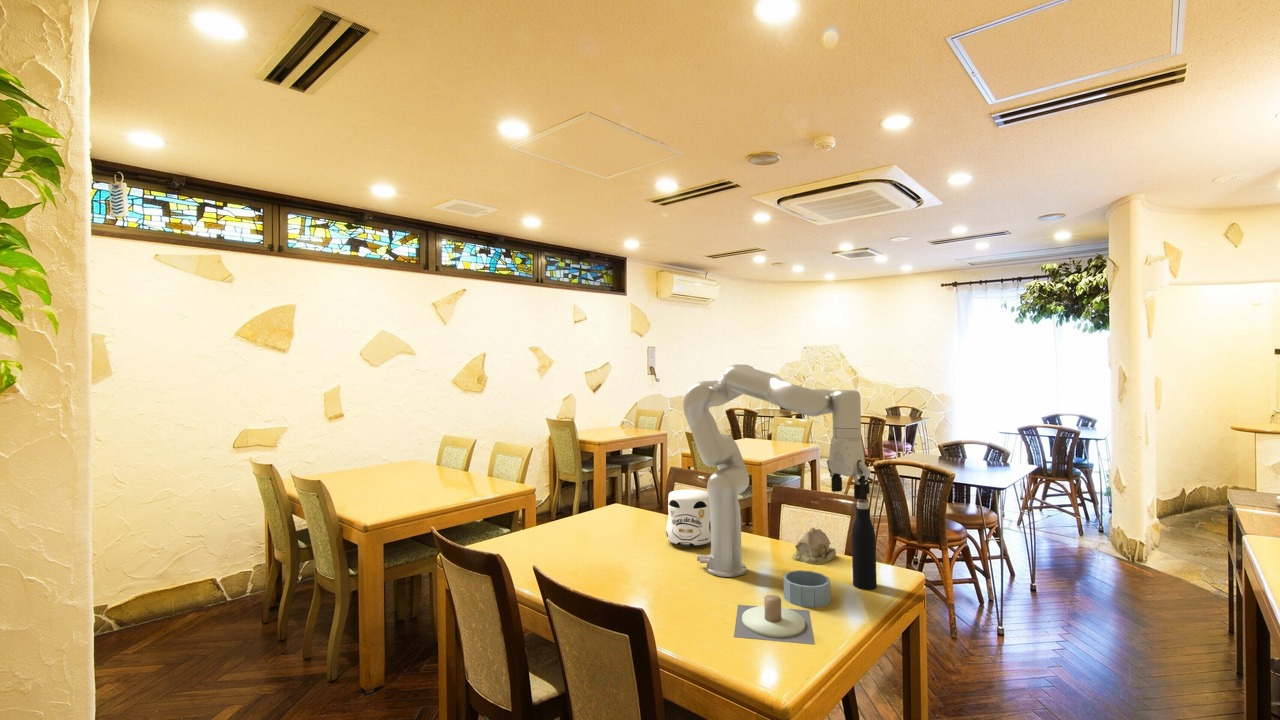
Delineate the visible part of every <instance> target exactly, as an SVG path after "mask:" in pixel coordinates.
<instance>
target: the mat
mask: <svg viewBox="0 0 1280 720" xmlns="http://www.w3.org/2000/svg"><path fill="white" fill-rule="evenodd" d="M758 606H759V605H744V604H737V610H736V617H735V626H734V632H733V638H740V639H751V640H760V641H762V640H763V641H772V642H782V643H783V642H784V643H792V644H793V643H794V644H805V645H815V644H816V643H815V638H814V633H813V625H812V620H811V615H810V610H808V609H800V608H799V609H797V608H795V609H794V608H789V609H790V610H792V611H795V612H797V613H798V614H800V615H801V616H802V617H803V618H804V620H805V629H804V631H803V632H802V633H800V634H798V635H796V636H792V637H785V638H775V637H767V636H763V635H759V634H756V633H754V632H752V631H750V630H748V629H747V628H746V627H745V626H744V625H743V623H742V615H743V613H744V612H745V611H746V610H748V609H750V608H753V607H758Z"/></svg>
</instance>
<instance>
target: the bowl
mask: <svg viewBox="0 0 1280 720" xmlns="http://www.w3.org/2000/svg"><path fill="white" fill-rule="evenodd" d="M783 599H784V600H785V601H787V602H788V603H789V604H792V605H794V606H799V607H801V608H812V609H814V608H816V609H817V608H822V607H826V606H827V605H829V604H830V603H831V601H832V599H831V581H830V578H829V577H828V576H826V575H825V574H823V573H821V572H817V571H812V570H802V569H800V570H798V569H797V570H790V571H787V572H786V573H784V574H783Z"/></svg>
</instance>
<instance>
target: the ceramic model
mask: <svg viewBox="0 0 1280 720" xmlns="http://www.w3.org/2000/svg"><path fill="white" fill-rule="evenodd" d="M831 543H832V542H831V541H830V539H829V537H828V536H827V534H826V532H823V530H822V529H821V528H820V529H819V528H815V527H810V529H809V531H806V533H805V534H804V535H803V536H802V537H801V538H800V540H799V541H798V542H797V543H796V544H795V549H796V552H795V553H793V554H792V559H793V560H795V561H798V562H802V563H805V564H810V565H823V564H826V563H829V562H831V561H833V560H834V559H835V558H836V555H837V551H836V549H835V548H833V547H830V545H831ZM834 557H835V558H834ZM832 559H833V560H832ZM830 560H831V561H830ZM828 561H829V562H828Z"/></svg>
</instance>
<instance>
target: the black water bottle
mask: <svg viewBox="0 0 1280 720" xmlns="http://www.w3.org/2000/svg"><path fill="white" fill-rule="evenodd" d="M854 484H856V483H855V482H854ZM869 494H871V493H870V481H869V480H868V481H867V484H865V499H857V501H856V508H855V519H854V522H853V525H852V531H851V554H852V555H851V557H852V562H851V563H852V585H853V587H855V588H857V589H859V590H865V591H871V589H873V590H875V588H876V589H877V588H878V587H877V583H878V582H877V581H878V580H877V554H876V553H877V551H876V545H877V544H876V533H875V528H874V525H873V522H872V520H871V509H870V508H869V507H870V506H869V501H868V495H869Z"/></svg>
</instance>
